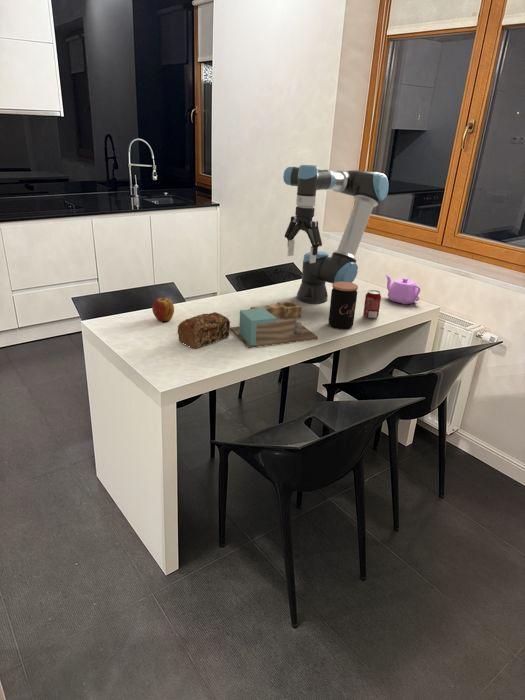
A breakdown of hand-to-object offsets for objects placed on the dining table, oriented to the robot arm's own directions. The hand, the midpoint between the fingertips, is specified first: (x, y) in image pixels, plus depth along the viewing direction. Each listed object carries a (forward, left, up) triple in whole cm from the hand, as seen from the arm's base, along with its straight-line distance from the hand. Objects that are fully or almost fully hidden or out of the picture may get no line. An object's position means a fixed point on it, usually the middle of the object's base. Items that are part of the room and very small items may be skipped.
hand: (301, 259), depth 205 cm
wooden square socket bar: (-6, -8, -27) cm, 29 cm away
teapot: (-9, +63, -27) cm, 69 cm away
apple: (-16, -55, -27) cm, 63 cm away
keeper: (+16, -26, -27) cm, 40 cm away
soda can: (+7, +34, -27) cm, 44 cm away
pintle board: (+12, -17, -27) cm, 34 cm away
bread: (+8, -45, -27) cm, 53 cm away
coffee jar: (+12, +15, -27) cm, 33 cm away
